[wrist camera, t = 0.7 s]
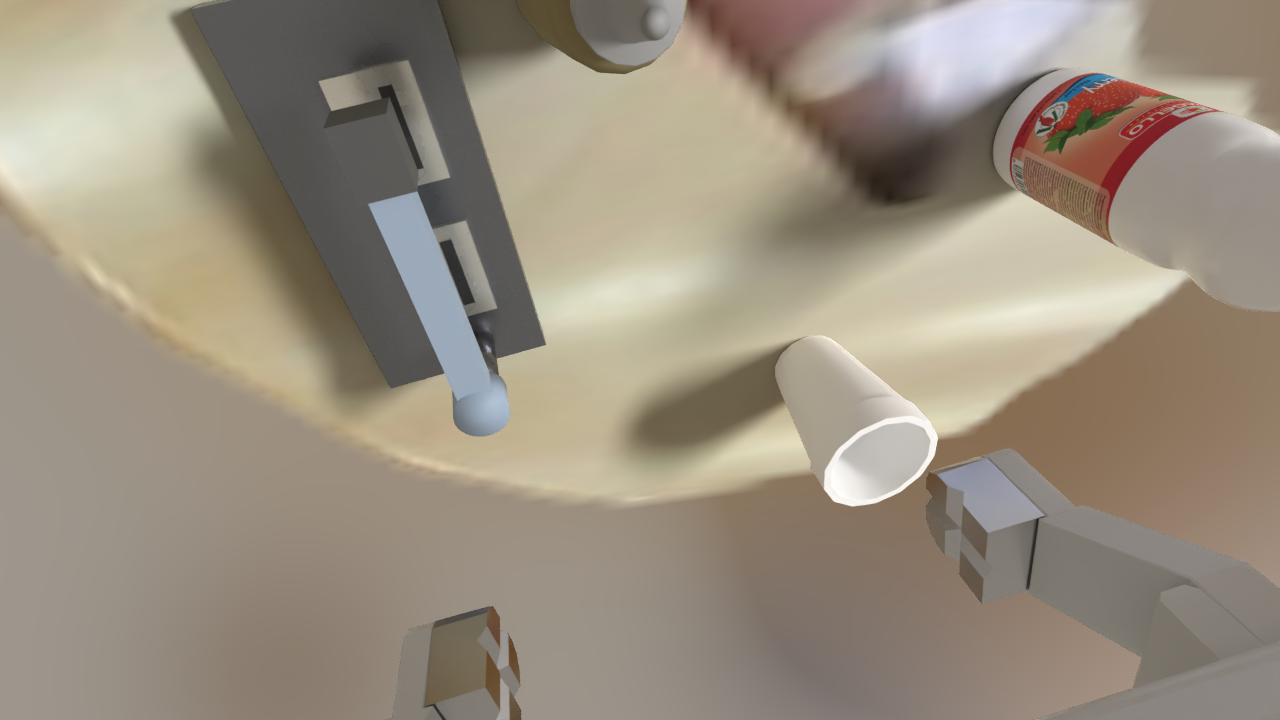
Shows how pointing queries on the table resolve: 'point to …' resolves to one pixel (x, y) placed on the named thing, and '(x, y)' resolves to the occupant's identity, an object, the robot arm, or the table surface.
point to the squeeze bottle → (607, 29)
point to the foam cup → (852, 423)
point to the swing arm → (416, 255)
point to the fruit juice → (1152, 178)
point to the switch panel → (436, 135)
